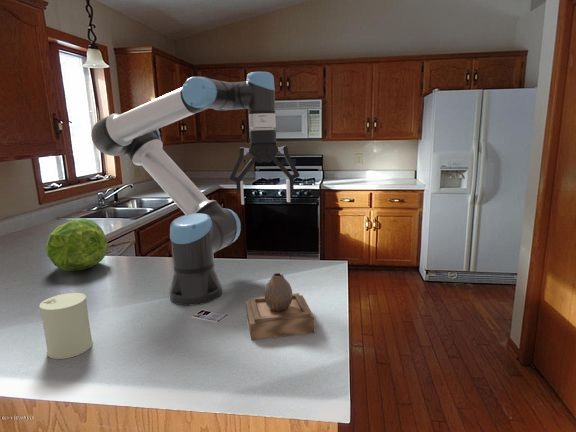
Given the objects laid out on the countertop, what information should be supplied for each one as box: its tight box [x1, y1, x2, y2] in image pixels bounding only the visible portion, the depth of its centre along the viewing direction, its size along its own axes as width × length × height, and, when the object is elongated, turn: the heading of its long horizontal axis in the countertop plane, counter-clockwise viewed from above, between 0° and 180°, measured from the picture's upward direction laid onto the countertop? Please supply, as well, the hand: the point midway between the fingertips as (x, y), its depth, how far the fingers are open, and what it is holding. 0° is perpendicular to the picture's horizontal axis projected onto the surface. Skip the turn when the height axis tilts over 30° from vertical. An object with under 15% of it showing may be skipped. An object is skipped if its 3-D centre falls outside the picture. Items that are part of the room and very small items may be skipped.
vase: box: [263, 272, 293, 312], centre depth 98 cm, size 7×7×9 cm
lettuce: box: [45, 218, 109, 272], centre depth 144 cm, size 19×23×18 cm
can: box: [38, 292, 94, 360], centre depth 90 cm, size 9×9×12 cm
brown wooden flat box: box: [245, 292, 315, 341], centre depth 99 cm, size 15×13×5 cm
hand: (265, 202), depth 119 cm, fingers open, 13 cm apart
